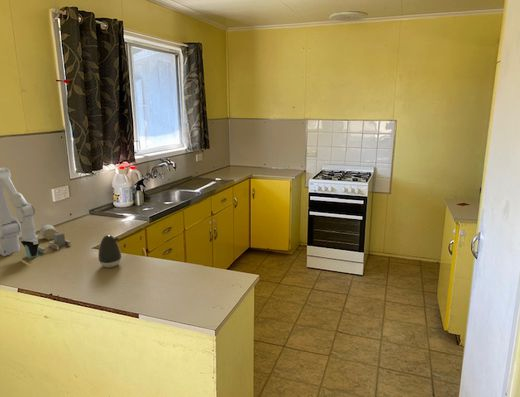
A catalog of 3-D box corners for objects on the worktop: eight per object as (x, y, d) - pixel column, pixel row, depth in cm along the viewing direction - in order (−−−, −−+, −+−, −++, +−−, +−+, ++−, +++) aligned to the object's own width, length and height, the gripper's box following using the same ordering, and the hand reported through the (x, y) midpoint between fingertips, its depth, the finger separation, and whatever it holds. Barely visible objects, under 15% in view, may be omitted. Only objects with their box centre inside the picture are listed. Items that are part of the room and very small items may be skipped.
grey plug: (58, 248, 206) (56, 235, 204) (54, 246, 208) (52, 234, 206) (65, 245, 209) (64, 233, 207) (62, 244, 211) (60, 232, 209)
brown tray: (44, 255, 198) (43, 249, 197) (36, 251, 203) (35, 245, 202) (71, 247, 209) (70, 241, 208) (63, 243, 214) (62, 238, 213)
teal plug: (30, 259, 192) (28, 246, 191) (26, 258, 195) (24, 244, 193) (38, 257, 195) (36, 244, 194) (35, 255, 198) (33, 242, 196)
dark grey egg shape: (115, 270, 180) (111, 239, 176) (94, 268, 182) (91, 238, 178) (126, 262, 189) (123, 232, 186) (107, 260, 191) (104, 231, 188)
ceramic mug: (44, 242, 217) (43, 229, 215) (40, 238, 223) (39, 225, 221) (64, 238, 224) (63, 225, 222) (60, 234, 229) (59, 222, 228)
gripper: (43, 229, 190) (47, 255, 193) (30, 224, 199) (34, 249, 202) (27, 233, 185) (31, 260, 188) (15, 227, 193) (19, 253, 197)
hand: (32, 254), depth 195 cm, fingers closed on teal plug, 4 cm apart
